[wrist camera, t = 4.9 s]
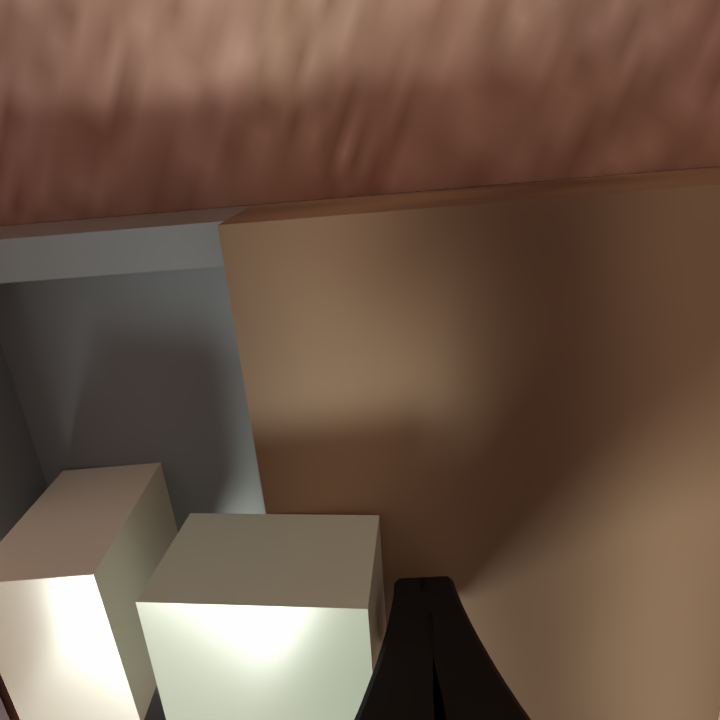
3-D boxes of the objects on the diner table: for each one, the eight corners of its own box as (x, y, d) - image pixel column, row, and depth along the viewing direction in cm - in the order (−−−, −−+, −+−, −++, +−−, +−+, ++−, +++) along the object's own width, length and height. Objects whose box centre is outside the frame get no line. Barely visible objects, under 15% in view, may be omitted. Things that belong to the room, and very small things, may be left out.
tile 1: (219, 655, 14) (177, 761, 11) (190, 513, 12) (135, 601, 10) (388, 662, 13) (380, 774, 11) (379, 515, 12) (367, 609, 9)
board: (326, 721, 18) (318, 826, 16) (252, 205, 13) (217, 225, 10) (648, 709, 18) (698, 815, 15) (721, 166, 12) (823, 175, 9)
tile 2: (191, 588, 16) (102, 595, 16) (161, 462, 15) (62, 470, 15) (141, 725, 12) (26, 733, 12) (93, 574, 11) (-38, 584, 11)
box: (112, 729, 19) (75, 813, 17) (-55, 230, 13) (-148, 251, 11) (326, 721, 18) (320, 806, 16) (252, 205, 13) (224, 221, 10)
